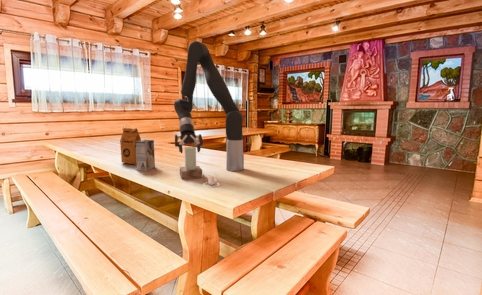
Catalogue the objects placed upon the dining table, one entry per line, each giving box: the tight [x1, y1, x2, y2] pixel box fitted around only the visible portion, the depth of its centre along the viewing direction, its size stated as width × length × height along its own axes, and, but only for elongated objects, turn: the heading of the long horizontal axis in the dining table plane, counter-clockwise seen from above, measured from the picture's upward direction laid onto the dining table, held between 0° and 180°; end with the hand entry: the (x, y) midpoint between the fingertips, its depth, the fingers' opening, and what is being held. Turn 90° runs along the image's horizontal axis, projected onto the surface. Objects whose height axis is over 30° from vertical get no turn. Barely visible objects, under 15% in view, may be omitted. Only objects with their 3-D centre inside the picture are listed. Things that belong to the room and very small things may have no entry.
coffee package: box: [119, 127, 142, 166], centre depth 163 cm, size 10×12×22 cm
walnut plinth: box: [179, 165, 203, 180], centre depth 136 cm, size 10×10×4 cm
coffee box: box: [135, 139, 156, 172], centre depth 150 cm, size 9×6×16 cm
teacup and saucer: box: [202, 175, 221, 188], centre depth 123 cm, size 9×8×4 cm
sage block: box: [184, 146, 197, 170], centre depth 135 cm, size 5×5×11 cm
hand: (190, 151), depth 135 cm, fingers open, 8 cm apart
